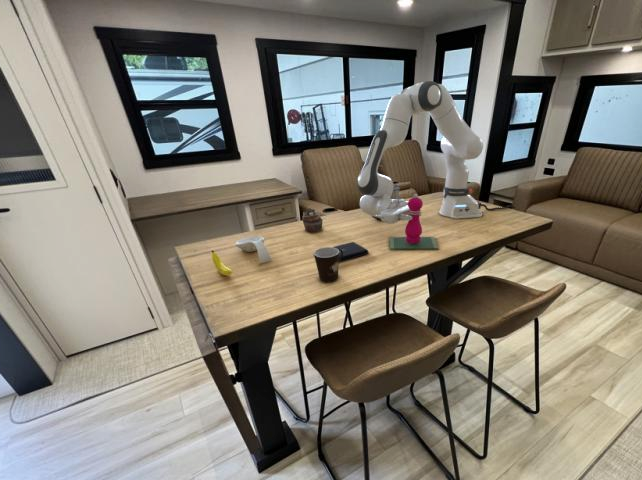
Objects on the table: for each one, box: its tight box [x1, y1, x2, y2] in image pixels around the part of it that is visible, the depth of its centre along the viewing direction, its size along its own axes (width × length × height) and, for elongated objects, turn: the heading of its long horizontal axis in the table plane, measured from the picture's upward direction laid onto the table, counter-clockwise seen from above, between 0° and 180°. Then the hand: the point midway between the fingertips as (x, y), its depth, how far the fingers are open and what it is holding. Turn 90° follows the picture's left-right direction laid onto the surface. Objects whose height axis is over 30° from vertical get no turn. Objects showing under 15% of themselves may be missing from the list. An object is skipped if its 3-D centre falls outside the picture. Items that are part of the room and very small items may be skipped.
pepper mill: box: [404, 193, 424, 243], centre depth 131 cm, size 7×7×20 cm
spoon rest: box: [235, 236, 272, 264], centre depth 130 cm, size 24×12×7 cm, turn 36°
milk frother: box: [371, 185, 401, 221], centre depth 165 cm, size 14×16×15 cm
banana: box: [211, 250, 233, 277], centre depth 115 cm, size 3×19×6 cm, turn 40°
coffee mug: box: [313, 246, 343, 284], centre depth 110 cm, size 12×9×10 cm
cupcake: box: [301, 208, 324, 234], centre depth 152 cm, size 10×10×10 cm
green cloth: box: [389, 236, 439, 251], centre depth 137 cm, size 20×13×1 cm, turn 88°
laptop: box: [332, 241, 370, 263], centre depth 129 cm, size 16×20×2 cm
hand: (416, 216), depth 130 cm, fingers closed on pepper mill, 5 cm apart
